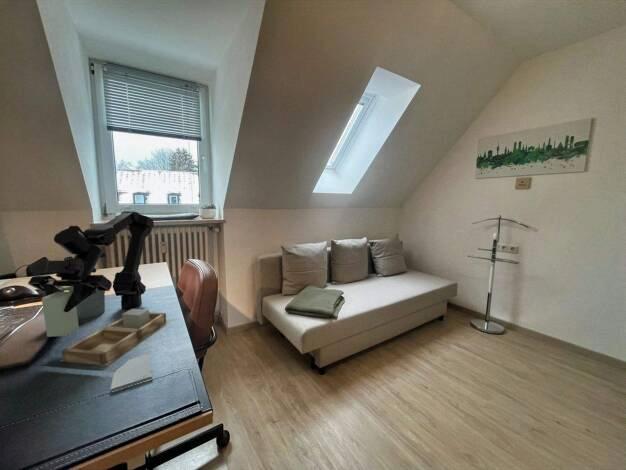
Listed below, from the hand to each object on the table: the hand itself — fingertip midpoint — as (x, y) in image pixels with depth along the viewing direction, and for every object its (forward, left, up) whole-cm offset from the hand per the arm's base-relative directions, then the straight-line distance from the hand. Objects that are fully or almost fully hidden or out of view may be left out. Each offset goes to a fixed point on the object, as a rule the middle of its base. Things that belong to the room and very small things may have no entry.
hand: (55, 312), depth 68 cm
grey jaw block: (-15, +10, -12) cm, 22 cm away
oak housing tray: (-9, +10, -13) cm, 19 cm away
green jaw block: (-1, 0, -7) cm, 7 cm away
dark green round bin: (-25, -18, -14) cm, 34 cm away
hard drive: (+3, +24, -14) cm, 28 cm away
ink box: (-15, -18, -14) cm, 28 cm away
